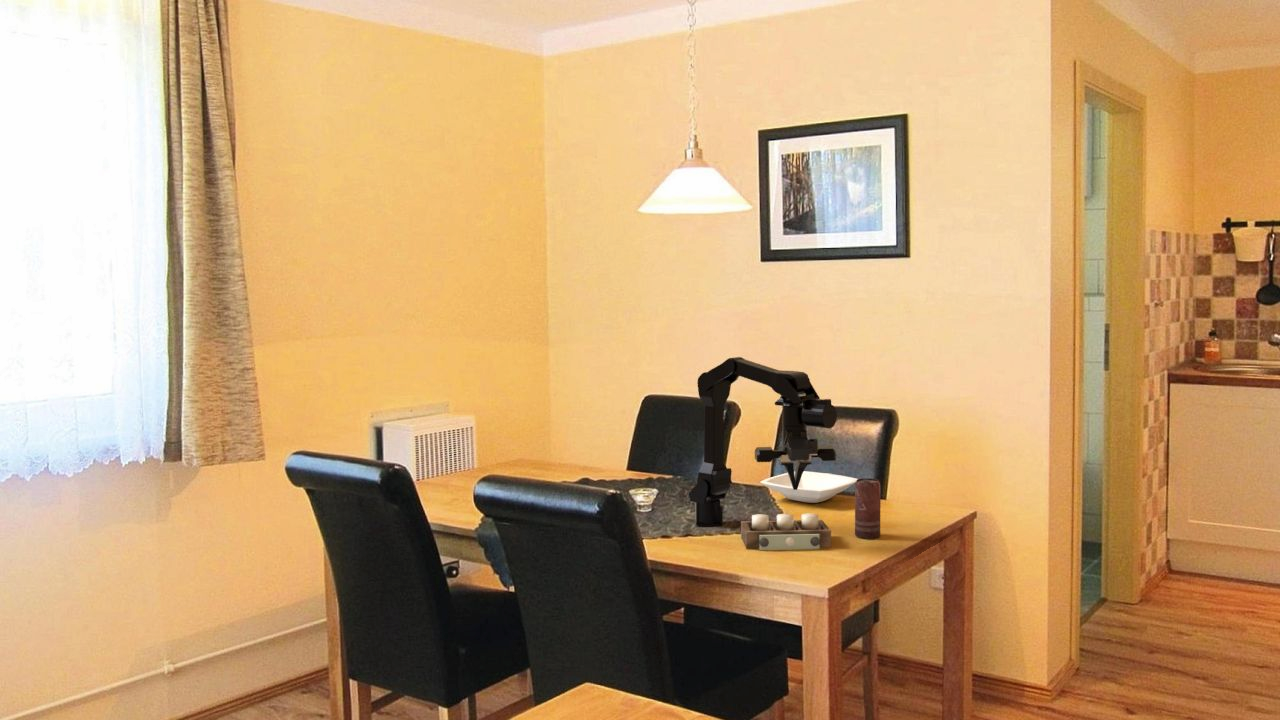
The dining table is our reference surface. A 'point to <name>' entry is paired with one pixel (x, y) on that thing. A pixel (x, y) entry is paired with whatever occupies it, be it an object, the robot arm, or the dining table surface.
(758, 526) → the button left
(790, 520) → the button mid
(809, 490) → the bowl
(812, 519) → the button right
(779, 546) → the card
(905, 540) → the dining table surface
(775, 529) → the brown compartment tray
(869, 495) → the can
